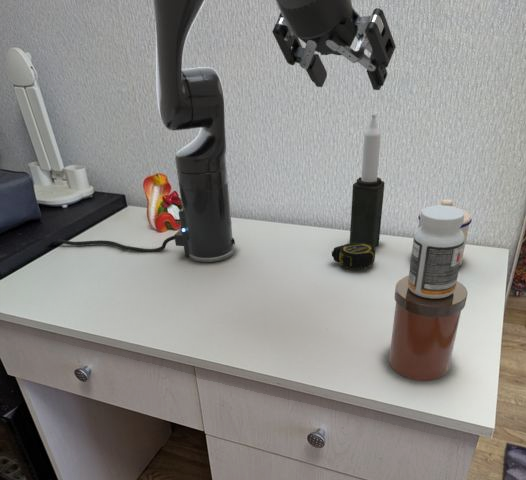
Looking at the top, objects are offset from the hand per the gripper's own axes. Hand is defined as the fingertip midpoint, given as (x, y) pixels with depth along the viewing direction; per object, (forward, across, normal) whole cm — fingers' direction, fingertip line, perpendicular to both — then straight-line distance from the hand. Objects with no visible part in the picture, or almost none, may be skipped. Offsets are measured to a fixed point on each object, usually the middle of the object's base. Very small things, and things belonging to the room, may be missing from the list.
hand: (350, 82), depth 65 cm
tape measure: (+32, +4, +14) cm, 35 cm away
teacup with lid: (+37, -9, +9) cm, 39 cm away
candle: (+38, +6, +8) cm, 39 cm away
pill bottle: (+7, -18, +22) cm, 30 cm away
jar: (+15, -18, +30) cm, 39 cm away
